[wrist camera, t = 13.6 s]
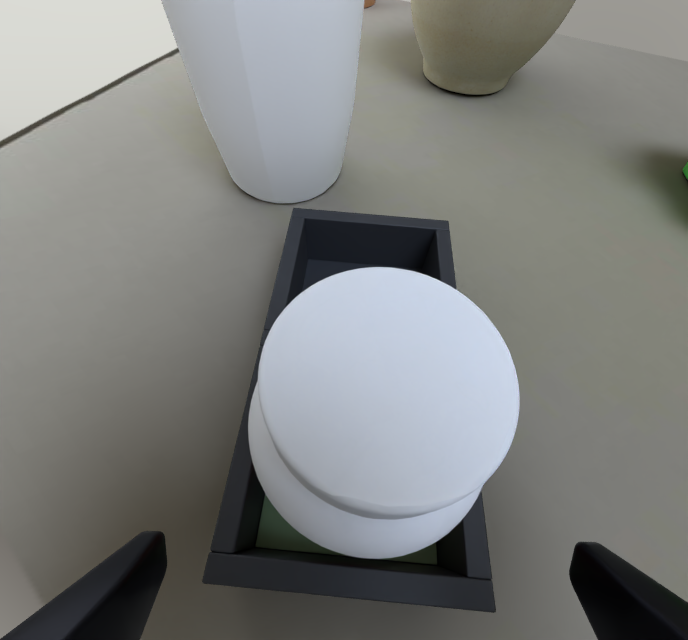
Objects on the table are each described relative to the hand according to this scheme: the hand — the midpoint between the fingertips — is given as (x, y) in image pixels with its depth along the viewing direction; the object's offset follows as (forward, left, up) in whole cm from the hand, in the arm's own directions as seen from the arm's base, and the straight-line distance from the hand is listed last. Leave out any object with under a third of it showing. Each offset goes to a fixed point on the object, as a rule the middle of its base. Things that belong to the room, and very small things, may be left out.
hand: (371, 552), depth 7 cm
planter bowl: (+45, -10, -9) cm, 47 cm away
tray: (+7, 0, -8) cm, 11 cm away
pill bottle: (+3, 0, -8) cm, 8 cm away
